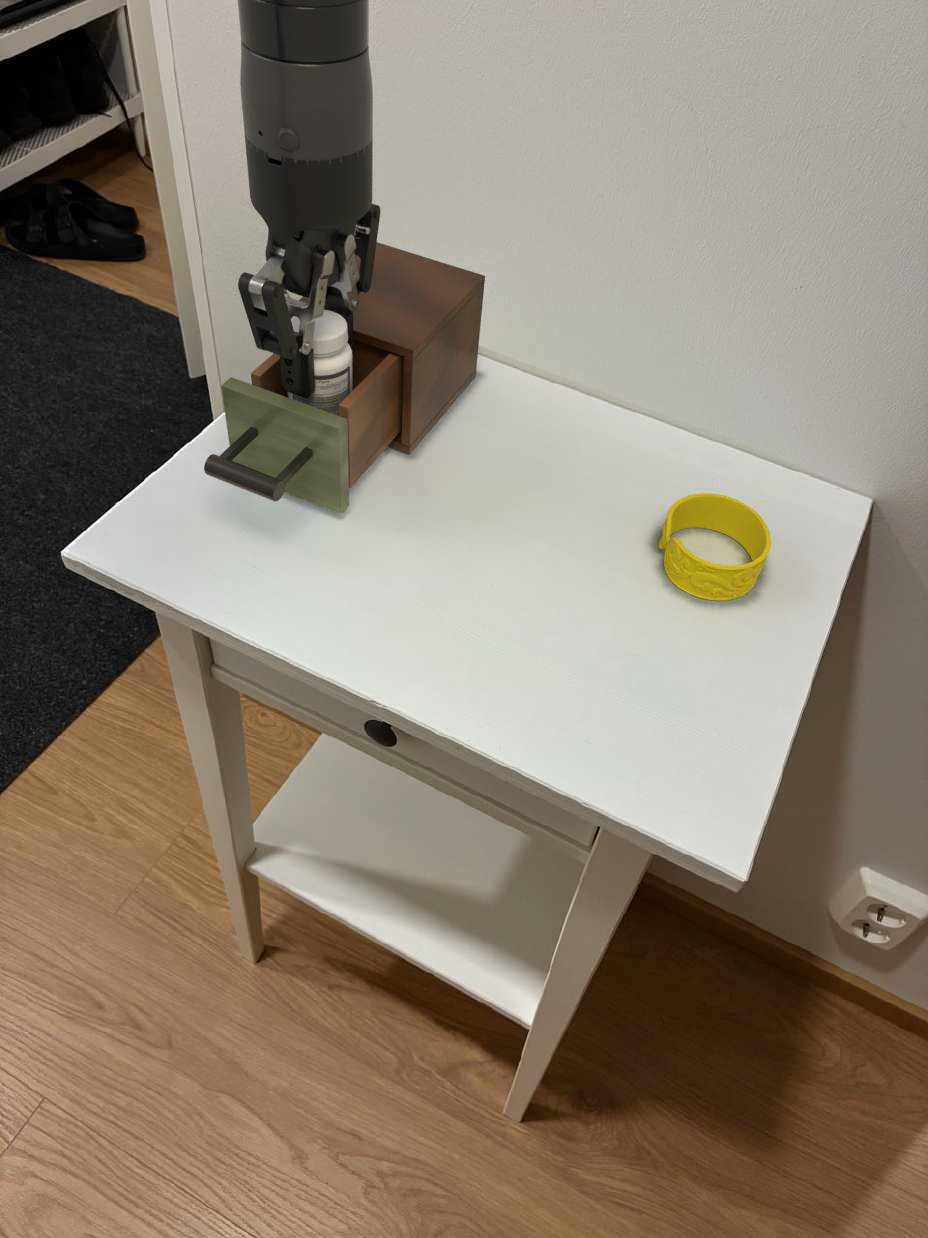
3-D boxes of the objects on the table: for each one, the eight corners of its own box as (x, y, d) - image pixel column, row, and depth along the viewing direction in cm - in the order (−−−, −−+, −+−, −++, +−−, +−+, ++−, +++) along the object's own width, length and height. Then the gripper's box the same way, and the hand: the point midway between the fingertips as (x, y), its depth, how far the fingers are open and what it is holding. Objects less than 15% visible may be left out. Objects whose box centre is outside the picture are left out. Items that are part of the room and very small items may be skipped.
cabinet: (409, 455, 77) (413, 350, 70) (295, 413, 80) (288, 308, 72) (476, 376, 85) (485, 275, 78) (370, 340, 87) (370, 239, 80)
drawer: (302, 559, 67) (295, 472, 61) (189, 513, 69) (173, 425, 64) (413, 431, 78) (417, 346, 72) (313, 394, 80) (308, 309, 74)
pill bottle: (299, 399, 74) (294, 300, 68) (359, 409, 74) (359, 310, 68) (281, 435, 71) (273, 335, 65) (344, 446, 71) (342, 346, 65)
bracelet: (741, 524, 74) (754, 492, 72) (771, 601, 69) (786, 569, 67) (649, 524, 74) (659, 491, 71) (672, 602, 68) (684, 569, 66)
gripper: (317, 75, 62) (325, 313, 75) (181, 152, 53) (216, 408, 66) (421, 103, 60) (411, 342, 73) (298, 187, 51) (311, 444, 64)
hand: (319, 372), depth 69 cm, fingers closed on pill bottle, 4 cm apart
